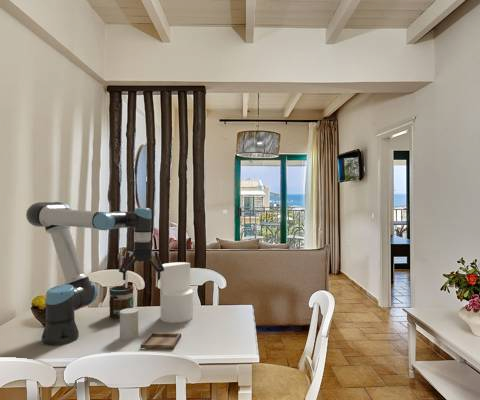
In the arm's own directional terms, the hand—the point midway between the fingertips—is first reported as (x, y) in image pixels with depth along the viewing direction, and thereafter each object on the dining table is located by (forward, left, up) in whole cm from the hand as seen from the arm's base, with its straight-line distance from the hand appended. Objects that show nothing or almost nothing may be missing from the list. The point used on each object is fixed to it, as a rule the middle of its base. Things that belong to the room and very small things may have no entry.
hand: (141, 286), depth 170 cm
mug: (-21, +24, -23) cm, 39 cm away
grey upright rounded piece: (-5, -3, -23) cm, 23 cm away
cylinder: (+10, +26, -23) cm, 36 cm away
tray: (+12, -9, -23) cm, 27 cm away
